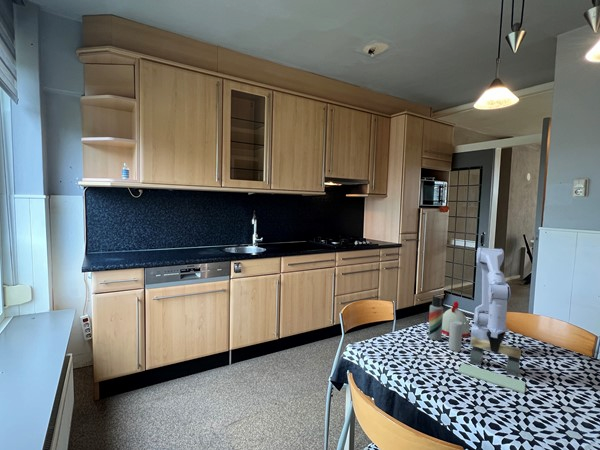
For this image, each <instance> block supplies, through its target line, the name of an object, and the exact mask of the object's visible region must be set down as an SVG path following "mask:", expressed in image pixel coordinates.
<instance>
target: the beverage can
mask: <svg viewBox="0 0 600 450" xmlns="http://www.w3.org/2000/svg"><path fill="white" fill-rule="evenodd" d="M462 328H463V325H462V323H461V322H459V321H451V322H450V333H449V335H448V336H449V338H448V350H450V351H452V352H455V353H459V352H461V351H462V343H463V342H462V340H463V339H462V338H463V337H462Z"/></svg>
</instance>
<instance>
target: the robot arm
mask: <svg viewBox="0 0 600 450" xmlns="http://www.w3.org/2000/svg"><path fill="white" fill-rule="evenodd" d="M504 259H505V251H504V249H503V248H489V247H479V246H478V248H477V250H476V266H477V267H479V268H480V269H481V304H479V305H478V306H476V307H475V308H474V314H473V323H474V324H472V326H471V330H470V340H471V339H472V337H475V338H479V339H483V340H487V341H489V342H490V348H491V351H490V350H486V349H483V351H487V352H490V353H493V354H494V353H496V354H497V353H498V350H499V347H500V344H502V343H501V342H503V340H504V338H505V335H506V333H508V332H510V329H509V328H507V311H508V301H510V299H511V288H510V285H509V284H508V283H507V282H506V278H505V275H504V272H503V271H501V270H500V269H501V266H502V264H503V262H504ZM469 346H470V347H472V348H473V346H471V342H470V345H469ZM498 354H499V353H498Z"/></svg>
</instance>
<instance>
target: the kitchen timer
mask: <svg viewBox="0 0 600 450" xmlns="http://www.w3.org/2000/svg"><path fill="white" fill-rule="evenodd" d="M451 321H459V322H461V323H462V325H463V328H462V338H468V337H469V336H470V334H471V330H470V320H469V319H467V317H466V316H465V314H464V313H463V312H462V311H461V309H459V302H458V300H457V301H456V300H455V301H454V302H453V305H452V307H451V308H449V309H447V310H446V311H444V312H443V320H442V335H443V334H444V335H446V336H449V333H450V322H451Z"/></svg>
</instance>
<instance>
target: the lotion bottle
mask: <svg viewBox="0 0 600 450" xmlns="http://www.w3.org/2000/svg"><path fill="white" fill-rule="evenodd" d="M431 300H432V301H431V302H432V303H431V304H430V305H429V318H428V334H427V335H428V339H430V340H433V341H441V340H442V335H443V333H442V320H443V314H444V307H443V306H442V297H441V296H437V295H433V296H432V299H431Z"/></svg>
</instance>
